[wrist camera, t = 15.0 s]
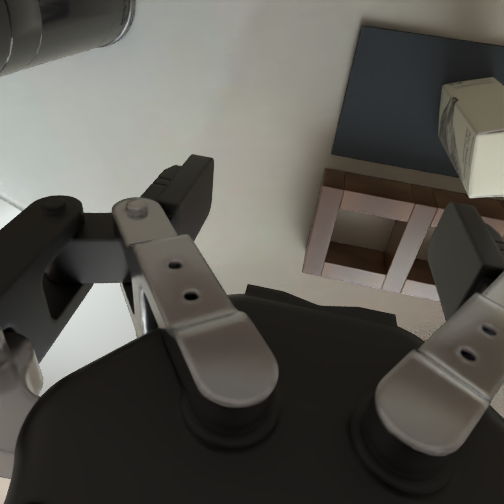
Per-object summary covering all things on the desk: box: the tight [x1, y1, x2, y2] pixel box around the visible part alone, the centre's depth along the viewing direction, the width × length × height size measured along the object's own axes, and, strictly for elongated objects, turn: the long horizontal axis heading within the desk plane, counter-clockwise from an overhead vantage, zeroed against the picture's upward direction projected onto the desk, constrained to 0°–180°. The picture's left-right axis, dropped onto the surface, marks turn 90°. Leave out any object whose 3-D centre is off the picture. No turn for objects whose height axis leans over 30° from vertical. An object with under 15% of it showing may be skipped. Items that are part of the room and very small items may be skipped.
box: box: [438, 77, 504, 198], centre depth 32 cm, size 5×4×13 cm
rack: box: [302, 168, 504, 302], centre depth 44 cm, size 21×11×4 cm, turn 84°
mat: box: [331, 25, 504, 178], centre depth 38 cm, size 20×12×1 cm, turn 84°
